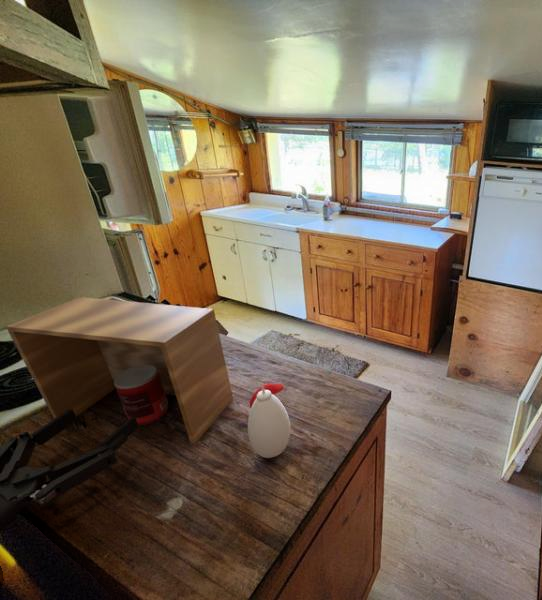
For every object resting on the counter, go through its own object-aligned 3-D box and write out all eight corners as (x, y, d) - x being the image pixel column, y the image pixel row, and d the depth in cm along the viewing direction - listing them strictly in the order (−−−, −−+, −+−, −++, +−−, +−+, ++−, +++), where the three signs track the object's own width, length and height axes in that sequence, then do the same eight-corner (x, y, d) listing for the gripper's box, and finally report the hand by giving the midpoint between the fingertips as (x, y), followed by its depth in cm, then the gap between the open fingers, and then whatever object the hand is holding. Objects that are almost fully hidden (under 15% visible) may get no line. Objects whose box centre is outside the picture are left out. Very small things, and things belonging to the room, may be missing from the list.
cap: (260, 423, 74) (256, 402, 72) (246, 410, 77) (242, 390, 75) (290, 404, 80) (287, 384, 78) (276, 393, 83) (273, 374, 81)
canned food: (162, 396, 80) (150, 360, 76) (174, 412, 76) (162, 374, 71) (124, 413, 75) (108, 375, 70) (134, 431, 70) (119, 391, 66)
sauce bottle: (253, 442, 69) (240, 373, 62) (291, 433, 72) (283, 366, 64) (252, 473, 63) (237, 400, 55) (294, 462, 65) (285, 391, 58)
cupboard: (57, 426, 71) (5, 326, 61) (115, 385, 84) (80, 296, 73) (195, 444, 68) (164, 342, 58) (233, 398, 81) (213, 309, 71)
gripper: (-100, 533, 48) (55, 424, 67) (51, 559, 46) (167, 439, 65) (-132, 499, 45) (40, 396, 64) (28, 525, 43) (157, 410, 62)
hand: (104, 417), depth 64 cm, fingers open, 13 cm apart
